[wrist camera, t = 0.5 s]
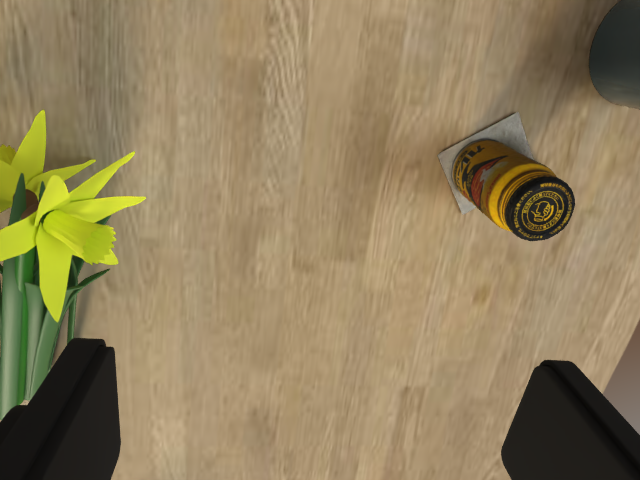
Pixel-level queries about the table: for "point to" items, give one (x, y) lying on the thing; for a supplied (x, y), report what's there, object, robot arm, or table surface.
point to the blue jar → (618, 55)
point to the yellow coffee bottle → (508, 182)
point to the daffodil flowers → (45, 256)
